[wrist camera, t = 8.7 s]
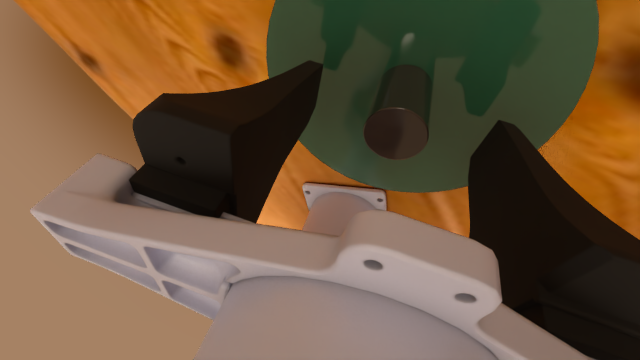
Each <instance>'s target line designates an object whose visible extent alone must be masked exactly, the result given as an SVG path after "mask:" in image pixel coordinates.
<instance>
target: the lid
mask: <svg viewBox="0 0 640 360" xmlns="http://www.w3.org/2000/svg"><path fill="white" fill-rule="evenodd" d="M598 38H599V13H598V7H597V0H275V3H274V7H273V10H272V14H271V18H270V21H269V28H268V35H267V67H268V76H269V79H270V78H272V77H274V76H277V75H279V74H282V73H284V72H286V71H288V70H290V69H292V68H294V67H296V66H298V65H300V64H302V63H304V62H306V61H308V60H311V61H314V62H317V63H321V64H324V65H323V71H322V76H321V81H320V86H319V92H318V97H317V102H316V107H315V109H314V111H313V114H312V116H311V118H310V120H309V123H308V125H307V126H306V128H305V130H304V131H303V133H302V134H301V136H300V138H299V141H300V142H301V143H302V144H303V145H304V146H305V147H306V148H307V149H308V150H309V151H310V152H311V153H312V154H313V155H314V156H316V157H317V158H318V159H319V160H320V161H322V162H323V163H325V164H326V165H328V166H329V167H331V168H332V169H334V170H335V171H337V172H339V173H341V174H343V175H344V176H346V177H349V178H351V179H353V180H356V181H358V182H361V183H364V184H367V185H370V186H373V187H377V188H381V189H386V190H392V191H399V192H413V193H424V192H439V191H446V190H452V189H457V188H462V187H466V186H468V172H469V164H470V158H471V156H472V154H473V153H474V152H475V150H476V149H477V148H478V146H479V145H480V144H481V142H482V141H483V140H484V138H485V137H486V136H487V134H488V133H489V132H490V130H491V129H492V128H493V126H494V125H495V124H496V123H497V121H498V120H502V121H505V122H508V123H511V124H514V125H515V126H517V127H518V128H519V129H520V130H521V132H522V133H523V134H524V135H525V136H526V137H527V138H528V140H529V141H530V142H531V143H532V144H533V146H534V147H535V148H536V149H537V150H538V149H539V148H540V147H541V146H542V145H543V144H545V143H546V142H547V141H548V140H549V139H550V138H551V137H552V136H553V135H554V134H555V132H556V131H557V130H558V129H559V128H560V127H561V126H562V125H563V123H564V122H565V121H566V119H567V118H568V116H569V115H570V114H571V112H572V111H573V110H574V108H575V106H576V104H577V103H578V101H579V99H580V97H581V95H582V93H583V92H584V90H585V88H586V85H587V82H588V80H589V77H590V74H591V71H592V69H593V66H594V61H595V56H596V51H597V46H598Z"/></svg>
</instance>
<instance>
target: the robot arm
mask: <svg viewBox="0 0 640 360" xmlns="http://www.w3.org/2000/svg"><path fill="white" fill-rule="evenodd" d="M323 65H324V64H321V63H317V62H314V61H311V60H308V61H306V62H304V63H302V64H300V65H298V66H296V67H294V68H292V69H290V70H288V71H286V72H284V73H282V74H279V75H277V76H274V77H272V78H270V79H267V80H265V81H262V82H259V83H256V84H253V85H249V86H245V87H241V88H236V89H230V90H225V91H219V92H209V93H194V94H169V93H163V94H162V95H160V96H159V97H158V98H157V99H155V100H154V101H153V102H152V103H150V104H149V105H148V106H147V107H146V108H144V109H143V110H142V111H141V112H139V113H138V114H137V115H136V117H135V118H134V119H133V131H134V135H135V138H136V141H137V143H138V146H139V149H140V152H141V154H142V157H143V159H144V162H145V164H144V165H143V166H142V167H141V168H140V169H139V170H138V171H137V170H136V168H134V167H133V166H132V165H130V164H128V163H126V162H123V161H120V160H118V159H115V158H112V157H109V156H106V155H103V154H99V153H97V154H96V155H95V156H94V157H92V158H91V159H90V160H89V161H88V162H87V163H85V164H84V165H83V166H82V167H80V168H79V169H78V170H77V171H76V172H74V173H73V174H72V175H71V176H70V177H69V178H67V179H66V180H65V181H64V182H62V183H61V184H60V185H59V186H58V187H57V188H55V189H54V190H53V191H52V192H50V193H49V194H48V195H47V196H46V197H44V198H43V199H42V200H41V201H40V202H38V203H37V204H36V205H35V206H34V207H32V208H31V209H30V212H31V214H32V215H33V216H34V217H35V218H36V219H37V220H38V221H39V222H40V223H41V224H42V225H43V226H44V227H45V228H46V229H47V230H48V231H49V232H50V233H51V235H52V236H53V237H54V238H55V239H56V240H57V241H58V242H59V243H60V244H61V245H62V246H63V247H64V248H65V249H66V250H67V251H68V252H69V253H70V254H71V255H73V256H76V257H79V258H81V259H83V260H86V261H88V262H91V263H93V264H96V265H98V266H100V267H103V268H105V269H107V270H110V271H112V272H114V273H116V274H119V275H121V276H123V277H125V278H127V279H129V280H131V281H134V282H136V283H138V284H140V285H142V286H144V287H146V288H148V289H150V290H152V291H155V292H156V293H158V294H160V295H162V296H164V297H166V298H169V299H171V300H173V301H175V302H177V303H179V304H181V305H183V306H185V307H187V308H189V309H191V310H193V311H195V312H197V313H199V314H201V315H203V316H205V317H208V318H210V319H211V320H213V323H212V325H211V327H210V328H209V330H208V332H207V334H206V336H205V338H204V340H203V342H202V344H201V346H200V348H199V350H198V352H197V354H196V355H195V357H194V359H193V360H640V240H639V239H637V238H636V237H634V236H633V235H631V234H630V233H628V232H627V231H625V230H624V229H622V228H621V227H620V226H618V225H617V224H615V223H614V222H613V221H611V220H610V219H609V218H607V217H606V216H605V215H603V214H602V213H601V212H599V211H598V210H597V209H596V208H594V207H593V206H592V205H591V204H589V203H588V202H587V201H586V200H585V199H584V198H583V197H581V196H580V195H579V194H578V193H577V192H576V191H575V190H574V189H573V188H571V187H570V186H569V185H568V184H567V183H566V182H565V181H564V180H563V179H562V177H561V176H560V175H559V174H558V173H557V172H556V171H555V170H554V169H553V168H552V167H551V166H550V165H549V163H548V162H547V161H546V160H545V159H544V158H543V156H542V155H541V154H540V153H539V152H538V150H537V149H536V148H535V147H534V146H533V144H532V143H531V142H530V141H529V140H528V138H527V137H526V136H525V135H524V134H523V133H522V132H521V130H520V129H519V128H518V127H517V126H515V125H514V124H511V123H508V122H505V121H502V120H498V121H497V123H496V124H495V125H494V126H493V128H492V129H491V130H490V132H489V133H488V134H487V136H486V137H485V138H484V140H483V141H482V142H481V144H480V145H479V146H478V148H477V149H476V150H475V152H474V153H473V154H472V156H471V158H470V164H469V172H468V192H469V211H470V236H469V238H467V237H464V236H461V235H458V234H456V233H453V232H450V231H447V230H444V229H441V228H438V227H435V226H432V225H429V224H427V223H424V222H421V221H418V220H415V219H412V218H409V217H406V216H403V215H400V214H397V213H395V212H390V211H387V208H386V193H385V191H383V190H378V189H367V188H357V187H346V186H335V185H325V184H314V183H304V184H303V186H302V189H303V192H304V195H305V199H306V202H307V206H308V209H309V214H308V217H307V219H306V221H305V224H304V226H303V229H302V230H296V229H289V228H282V227H275V226H269V225H262V224H256V222H257V220H258V218H259V215H260V213H261V211H262V208H263V206H264V204H265V201H266V199H267V197H268V195H269V193H270V190H271V188H272V186H273V184H274V182H275V180H276V177H277V175H278V173H279V171H280V169H281V167H282V165H283V163H284V162H285V160H286V158H287V156H288V155H289V153H290V152H291V150H292V149H293V147H294V145H295V144H296V142H297V141H298V139H299V138H300V136H301V134H302V133H303V131H304V130H305V128H306V126H307V125H308V123H309V120H310V118H311V116H312V114H313V111H314V109H315V107H316V102H317V97H318V92H319V86H320V81H321V76H322V71H323ZM379 198H381V199H379Z"/></svg>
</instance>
